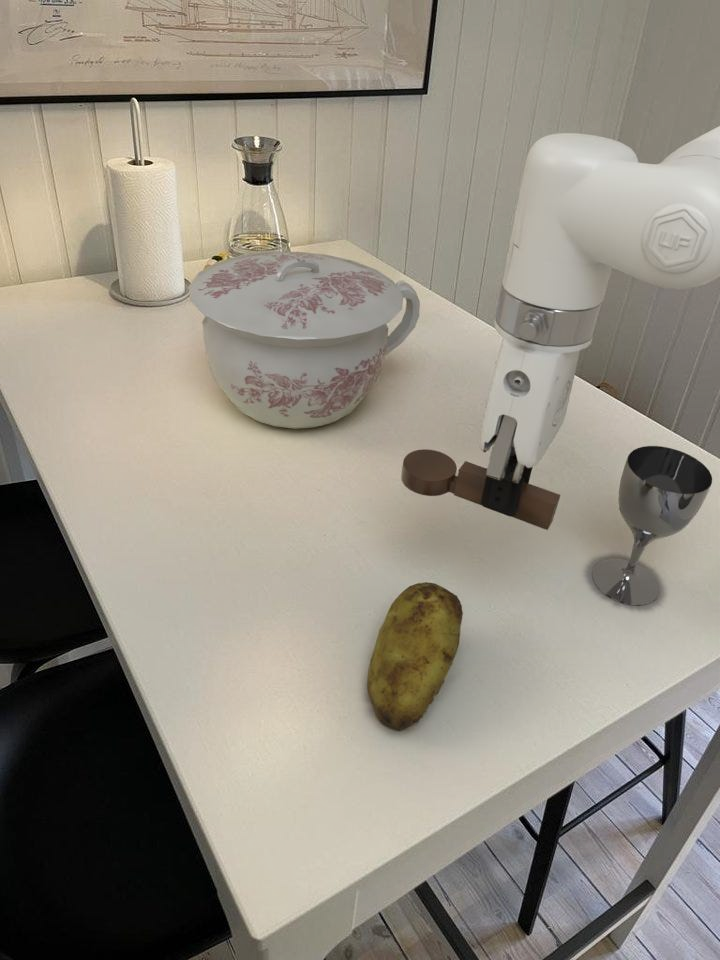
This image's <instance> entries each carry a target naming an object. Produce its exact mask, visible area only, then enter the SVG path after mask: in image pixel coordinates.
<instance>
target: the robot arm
mask: <svg viewBox="0 0 720 960" xmlns="http://www.w3.org/2000/svg"><path fill="white" fill-rule="evenodd" d="M512 225H513V226H512V230H511V235H510V240H509V245H508V250H507V256H506V262H505V266H504V272H503V278H502V282H501V287H500V292H499V297H498V302H497V307H496V312H495V318H494V322H493V325H494V329H495V331H496V332H497V334H498V335H499V336H501V338H502V339H501V345H500V348H499V350H498V355H497V359H496V361H495V366H494V370H493V375H492V379H491V381H490V386H489V391H488V395H487V399H486V404H485V408H484V413H483V416H482V422H481V429H480V434H479V445H478V446H479V448H480V451H481V452H482V453H484V454H486V453H487V452H488V451H489V450H490V448H491V452H490V457H489V462H488V464H487V465H488V466H487V467H486V468H487V471H486V480H485V485H484V489H483V494H482V499H481V505H482V507H483V508H485V509H488V510H491V511H493V512H496V513H499V514H502V515H504V516H507V517H510V518H513V516H514V515H515V513H516V512H517V508H518V504H519V500H520V496H521V492H522V488H523V484H524V482H525V483H529V484H530V479H531V476H532V473H533V468H534V467H535V466H537V465H538V464H539V463H540V461H541V460H542V458H543V457H544V456H545V454H546V453H547V451H548V449H549V448H550V446H551V444H552V443H553V441H554V440H555V438H556V436H557V434H558V433H559V432H560V430H561V428H562V425H563V423H564V420H565V418H566V415H567V411H568V405H569V403H570V402H569V401H570V399H571V394H572V390H573V389H572V388H573V384H574V381H575V375H576V371H577V367H578V363H579V358H580V353H581V351H582V350H585V349H586V348H588V347H590V346H591V344H592V342H593V338H594V335H595V333H596V328H597V325H598V321H599V317H600V315H601V314H600V313H601V311H602V307H603V303H604V299H605V295H606V293H607V288H608V285H609V281H610V277H611V274H612V270H617V271H620V272H621V273H622V274H626V275H628V276H630V277H632V278H635V279H636V280H637V279H638V281H639V280H640V281H642V282H644V283H647V284H650V285H654V286H656V287H660V288H664V289H670V290H671V289H672V290H687V289H694V288H698V287H701V286H704V285H707V284H708V283H710V282H712V281H714V280H716V279H718V278H719V277H720V125H719V126H717V127H715V128H713V129H711V130H709V131H707V132H705V133H703V134H702V135H700V136H698V137H695V138H694V139H692V140H691V141H689V142H687V143H684V144H683V145H682V146H679V148H677V149H675V150H674V151H673V152H671V153H670V154H669V155H667V156H666V157H665V158H664V159H663V160H662V161H661V162H660V163H646V162H639V158H638V156H637V154H636V153H635V151H634V150H633V149H632V148H631V147H630V146H628V145H626V144H624V143H623V142H621V141H618V140H615V139H612V138H608V137H604V136H600V135H594V134H586V133H573V132H558V133H552V134H548V135H544V136H542V137H541V138H539V139H538V140H536V141H535V142H534V143H533V144H532V146H531V147H530V149H529V151H528V153H527V156H526V159H525V163H524V167H523V172H522V177H521V182H520V187H519V193H518V199H517V204H516V209H515V214H514V218H513V224H512ZM481 505H480V506H481Z"/></svg>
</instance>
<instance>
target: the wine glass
mask: <svg viewBox="0 0 720 960" xmlns="http://www.w3.org/2000/svg"><path fill="white" fill-rule="evenodd" d="M712 484H713V476H712V473H711V472H710V470H709V468H707V466H706V465H705V464H704V463H703V462H701V460H698V459H697V458H696V457H694V456H692V455H691V454H688V453H686V452H685V451H681V450H678V449H675V448H670V447H668V446H661V445H646V446H645V445H644V446H639V447H637V448H635V449H633V450H631V452H629V454H628V455H627V458H626V461H625V464H624V467H623V470H622V473H621V477H620V481H619V485H618V486H619V487H618V499H617V500H618V510H619V512H620V515H621V517H622V519H623V520H624V522H625V524H626V525H627V527H628V528H629V529H630V531H631V534H632V538H633V544H632V550H631V553H630V557H629V559H628V560H627V559H622V558H608V559H604V560H600V561H599V562H597V563H596V565H595V564H594V567H593V568H592V572H591V577H592V580H593V582H594V585H595V586H596V587H597V589H598V590H599V591H600V592H601V593H602V594H604V595H605V596H606V597H608V598H610V599H611V600H613V601H615V602H618V603H620V604H624V605H628V606H646V605H649V604H652V603H654V602H655V601H656V600H657V599H658V598H659V595H660V592H661V591H660V585H659V582H658V580H657V578H656V577H655V576H654V575H653V573H652V572H650V571H649V570H648V569H647V568H645V567H643V566H641V565H640V564H638V561H639V559H640V558H641V556H642V554H643V553H644V551H645V549H646V548H647V546H649V544H651V543H652V542H655V541H656V540H660V539H664V538H668V537H671V536H674V535H676V534H678V533H680V532H681V531H683V530H684V529H685V528H686V527H687V526H688V525H689V524H690V523H691V522H692V520H693V519H694V518H695V516H697V514H698V512H699V511H700V509H701V508H702V505H703V504H704V502H705V500H706V498H707V496H708V494H709V492H710V489H711V487H712Z"/></svg>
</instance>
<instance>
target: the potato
mask: <svg viewBox="0 0 720 960" xmlns="http://www.w3.org/2000/svg"><path fill="white" fill-rule="evenodd" d="M463 614H464V612H463V605H462V603H461V600H460V599H459V597H458V596H457V594H454V593H453V592H451V591H450V590H448V589H446V588H445V587H443V586H441V585H440V584H437V583H434V582H428V581H425V582H417V583H415V584H412V585H409V586H408V587H406V588H405V589H404V590H403V591H402V592H401V593H399V594H398V596H397V597H396V598H395V599H394V600H393V602H392V603H391V605H390V607H389V608H388V611H387V613H386V616H385V618H384V621H383V623H382V624H381V626H380V628H379V630H378V635H377V638H376V641H375V644H374V648H373V650H372V653H371V657H370V660H369V665H368V670H367V678H366V679H367V681H366V689H367V694H368V698H369V700H370V704H371V706H372V709H373V711H374V714H375V717H376V718H377V720H378V721H379V723H381V724H382V725H383V726H385V727H387V728H389V729H391V730H394V731H396V732H401V731H404V730H407V729H409V728H411V727H412V726H415V725H416V724H418V723H419V722H420V721H421V720H422V719H423V717H424V716H425V714H426V713H427V710H428V708H429V706H430V705H431V704H432V703H433V701H434V699H435V697H436V696H437V695H438V694H439V692H440V690H441V688H442V687H443V684H444V683H445V679H446V677H447V676H448V673H449V671H450V669H451V666H452V665H453V662H454V660H455V658H456V655H457V653H458V649H459V646H460V639H461V626H462V622H463Z"/></svg>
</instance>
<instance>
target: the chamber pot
mask: <svg viewBox="0 0 720 960" xmlns="http://www.w3.org/2000/svg"><path fill="white" fill-rule="evenodd" d="M188 294H189V302H191V303H192V305H193V306H194V307H195V308H197V310H198V311H199V312H200V313H201V314H202V315H203V316H204V318H203V319H202V337H203V338H202V339H203V346H204V353H205V356H206V359H207V363H208V366H209V370H210V374H211V377H212V379H213V380H214V381H215V383H216V384H217V385H218V386H219V388H220V389H221V390H222V391H223V393H224V394H225V395H226V397H227V398H228V399H229V401H230V402H231V403H232V404H233V405H234V406H235V408H236V409H237V410H238V411H239V412H241V413H243V415H245V416H247V417H249V418H251V419H253V420H254V421H256V422H259V423H262V424H266V425H269V426H272V427H277V428H284V429H285V428H286V429H287V428H288V429H295V430H296V429H311V428H318V427H322V426H326V425H329V424H333V423H335V422H337V421H339V420H341V419H342V418H344V417H346V416H348V415H349V414H351V413H352V412H353V411H354V410H355V408H356V407H357V406H358V405H359V404H360V403H361V401H362V400H364V398H365V397H366V395H368V394H369V392H370V391H371V390H372V389H373V388H374V386H376V385H377V383H378V381H379V377H380V375H381V372H382V368H383V367H384V366H383V365H384V364H385V360H386V357H387V356H388V355H389V354H390V353H391V352H393V351H394V350H395V349H397V348H398V347H399V346H400V345H401V344H403V343H404V342H405V340H406V339H407V338H408V336H409V335H410V334H411V333H412V332H413V331H414V329H415V328H416V326H417V323H418V320H419V319H420V309H421V303H420V299H419V296H418V294H417V292H416V290H415V289H414V287H413V286H412V285H411V284H409V283H408V282H406V281H405V280H398V281H397V282H396V283H395V282H394V280H393V279H391V278H390V277H388V276H386V275H385V274H384V273H382V272H381V271H379V270H377V269H376V268H373V267H370V266H369V265H366V264H363V263H361V262H358V261H356V260H351V259H348V258H342V257H340V256H339V257H338V256H334V255H330V254H324V253H314V252H304V251H264V252H256V253H250V254H241V255H240V254H239V255H237V256H233V257H230V258H227V259H223V260H220V261H217V262H215V263H213V264H211V265H209V266H208V267H205V268H204V269H202V270H201V271H199V272H197V274H196V276H195V277H194V278H193V280H192V281H191V282H190V284H189V286H188ZM404 299H405V311H404V314H403V316H402V319H401V321H400V323H398V325H396V327H395V328H394V329H393V330H392V331H391V333H390V334H389V326H388V325H387V324H388V323H390V322H392V320H393V319H394V318H396V317H397V315H398V314H399V313H400V312H401V311H402V310H403V304H404Z"/></svg>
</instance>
